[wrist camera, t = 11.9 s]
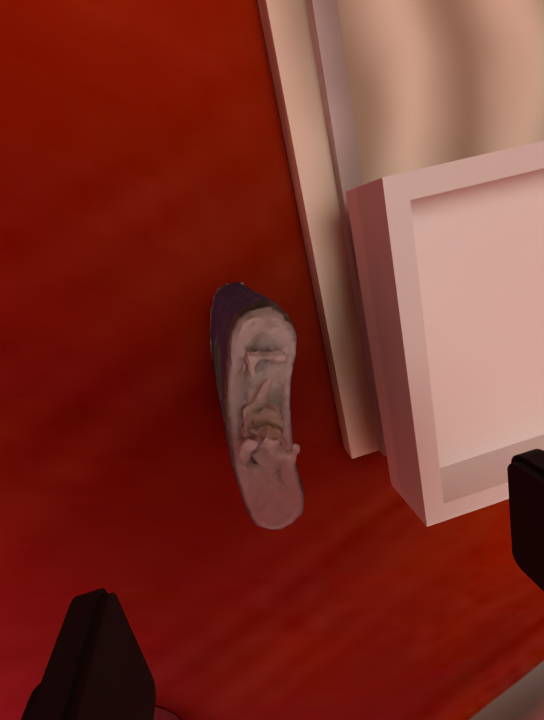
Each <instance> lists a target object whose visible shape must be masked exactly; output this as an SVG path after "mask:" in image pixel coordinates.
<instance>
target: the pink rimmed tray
mask: <svg viewBox="0 0 544 720" xmlns="http://www.w3.org/2000/svg"><path fill="white" fill-rule="evenodd" d="M346 198H347V204H348V211H349V217H350V224H351V230H352V242H353V248H354V251H355V256H356V262H357V268H358V275H359V281H360V287H361V294H362V300H363V307H364V313H365V319H366V326H367V332H368V339H369V345H370V351H371V358H372V364H373V371H374V377H375V383H376V390H377V396H378V403H379V409H380V415H381V427H382V431H383V435H384V441H385V447H386V454H387V460H388V467H389V473H390V479H391V485H392V486H393V487H394V488H395V489H396V491H397V492H398V493H399V494H400V495H401V496H402V498H403V499H404V500H405V501H406V502H407V504H408V505H409V506H410V507H411V508H412V510H413V511H414V512H415V513H416V514H417V516H418V517H419V518H420V519H421V520H422V521H423V523H424V524H425V525H426V526H427V527H428V526H431V525H434V524H437V523H440V522H442V521H445V520H448V519H451V518H454V517H457V516H460V515H463V514H466V513H469V512H471V511H474V510H477V509H480V508H483V507H486V506H489V505H492V504H495V503H498V502H501V501H503V500H506V499H509V490H508V474H507V467H508V465H509V464H511V459H512V458H513V456H515V455H518V454H521V453H524V452H527V451H530V450H533V449H541V450H543V451H544V140H543V141H539V142H534V143H530V144H526V145H521V146H517V147H513V148H508V149H504V150H500V151H495V152H491V153H487V154H482V155H478V156H474V157H469V158H465V159H461V160H456V161H452V162H447V163H443V164H439V165H434V166H430V167H426V168H421V169H417V170H413V171H408V172H404V173H400V174H395V175H391V176H387V177H382V178H380V179H377V180H374V181H372V182H369V183H367V184H364V185H361V186H359V187H356V188H354V189H351V190H348V191H346Z"/></svg>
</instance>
